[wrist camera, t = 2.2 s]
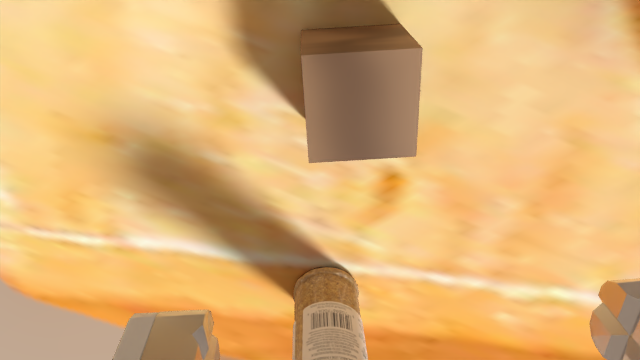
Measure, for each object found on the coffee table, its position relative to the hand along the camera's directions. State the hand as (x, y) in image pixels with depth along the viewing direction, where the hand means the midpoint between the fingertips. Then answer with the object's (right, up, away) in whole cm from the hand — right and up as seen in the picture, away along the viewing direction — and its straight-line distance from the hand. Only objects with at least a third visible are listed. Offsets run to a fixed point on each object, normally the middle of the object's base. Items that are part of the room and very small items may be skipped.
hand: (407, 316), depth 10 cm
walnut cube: (0, +8, +15) cm, 17 cm away
